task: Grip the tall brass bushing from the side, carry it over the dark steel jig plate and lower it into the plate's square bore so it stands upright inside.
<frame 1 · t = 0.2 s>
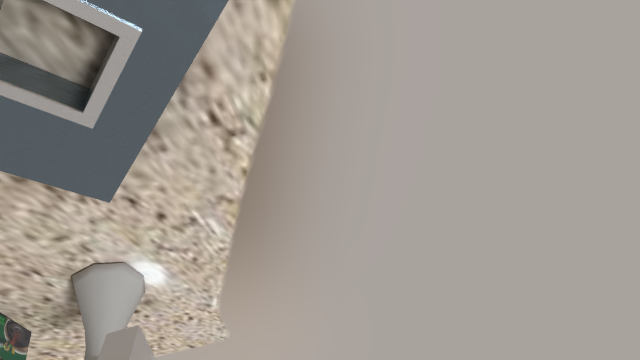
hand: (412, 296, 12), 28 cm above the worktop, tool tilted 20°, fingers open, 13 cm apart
jig plate: (56, 31, 33), on the worktop
flask: (110, 280, 51), on the worktop
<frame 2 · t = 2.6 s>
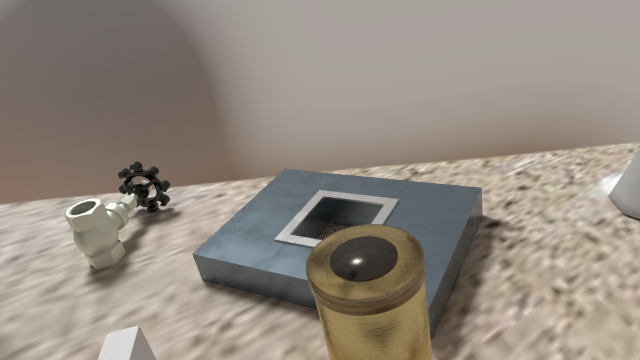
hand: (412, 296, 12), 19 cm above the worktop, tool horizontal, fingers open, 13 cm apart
jig plate: (343, 246, 45), on the worktop
valve: (129, 238, 54), on the worktop
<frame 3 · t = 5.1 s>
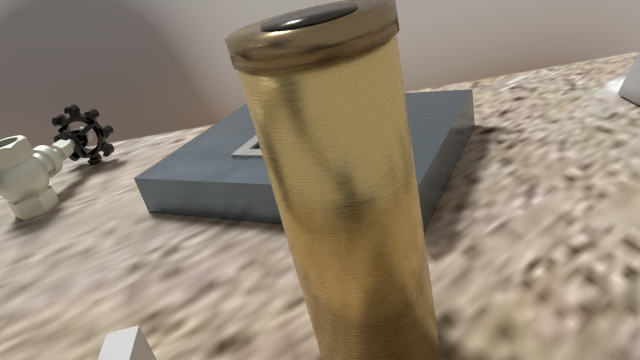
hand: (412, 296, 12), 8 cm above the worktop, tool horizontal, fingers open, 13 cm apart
jig plate: (315, 167, 39), on the worktop
valve: (66, 190, 47), on the worktop
brass bushing: (380, 350, 21), on the worktop
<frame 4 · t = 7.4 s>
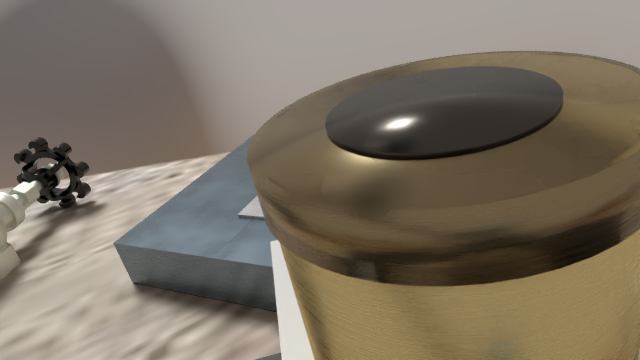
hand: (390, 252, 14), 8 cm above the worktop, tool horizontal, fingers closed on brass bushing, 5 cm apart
jig plate: (343, 224, 30), on the worktop
valve: (30, 243, 38), on the worktop
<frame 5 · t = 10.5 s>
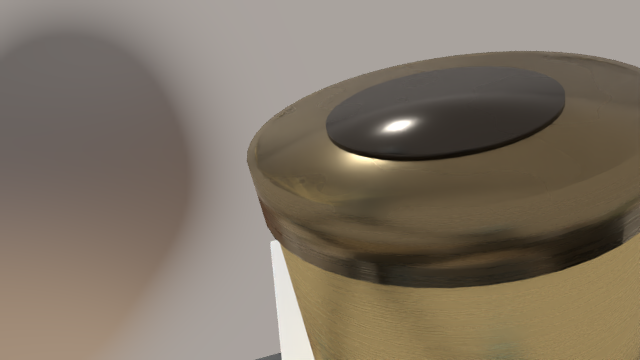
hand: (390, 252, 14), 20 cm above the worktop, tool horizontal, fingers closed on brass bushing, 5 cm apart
when the fingers open (9 cm above the worktop, at t = 13.7 s): brass bushing drops 1 cm, resting in jig plate.
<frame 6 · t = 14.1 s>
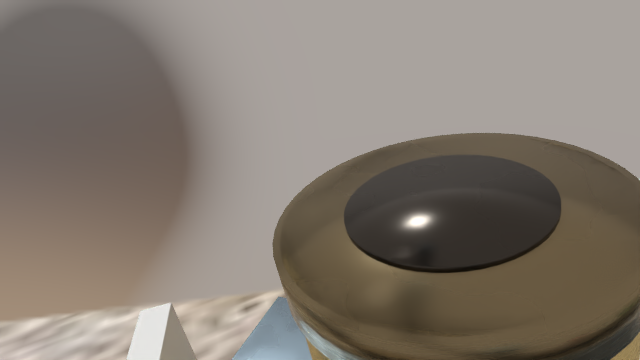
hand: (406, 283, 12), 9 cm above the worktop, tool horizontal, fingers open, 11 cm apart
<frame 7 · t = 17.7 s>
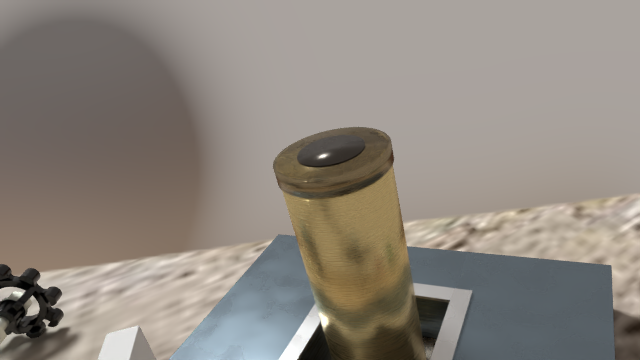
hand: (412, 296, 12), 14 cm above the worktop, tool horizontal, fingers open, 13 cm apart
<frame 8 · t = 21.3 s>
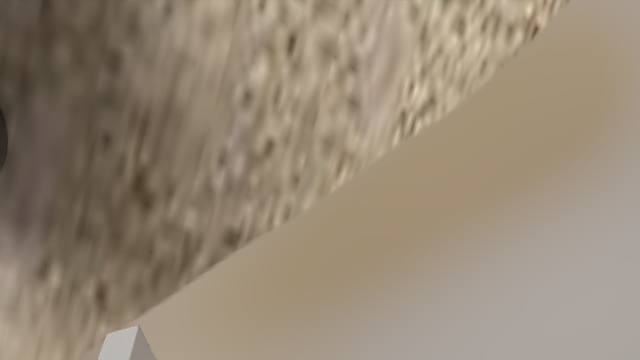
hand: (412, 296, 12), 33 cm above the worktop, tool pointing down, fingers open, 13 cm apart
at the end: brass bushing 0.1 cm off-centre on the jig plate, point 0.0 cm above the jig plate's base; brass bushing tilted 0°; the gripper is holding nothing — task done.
